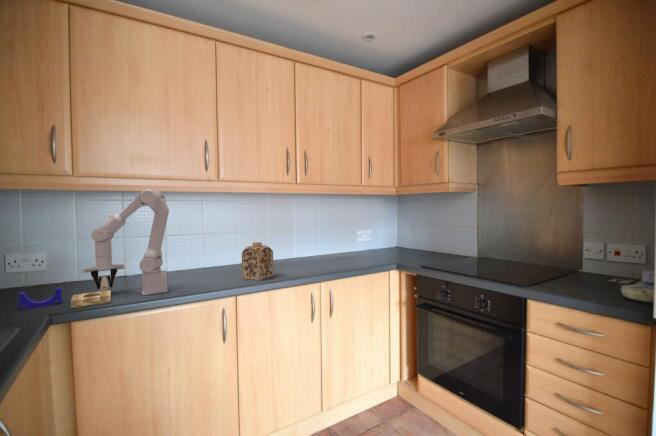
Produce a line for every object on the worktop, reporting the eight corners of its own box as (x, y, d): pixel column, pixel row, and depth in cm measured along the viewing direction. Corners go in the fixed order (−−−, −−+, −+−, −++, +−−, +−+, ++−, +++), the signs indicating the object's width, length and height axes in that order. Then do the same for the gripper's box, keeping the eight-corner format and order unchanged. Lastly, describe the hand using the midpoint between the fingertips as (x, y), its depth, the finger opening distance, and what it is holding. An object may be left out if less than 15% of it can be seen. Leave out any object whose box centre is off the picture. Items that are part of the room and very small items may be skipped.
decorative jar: (241, 278, 166) (240, 243, 165) (256, 274, 176) (255, 241, 175) (260, 281, 160) (259, 244, 160) (274, 276, 170) (273, 241, 170)
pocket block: (110, 297, 134) (110, 290, 134) (110, 303, 126) (110, 295, 126) (73, 302, 128) (73, 294, 128) (71, 308, 119) (70, 300, 119)
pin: (110, 292, 142) (110, 274, 142) (110, 294, 138) (110, 276, 138) (99, 294, 140) (98, 275, 139) (99, 296, 136) (98, 277, 136)
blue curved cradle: (62, 301, 130) (61, 286, 130) (61, 304, 127) (61, 288, 126) (21, 307, 123) (20, 291, 123) (19, 310, 119) (18, 294, 119)
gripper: (123, 253, 146) (124, 283, 146) (83, 256, 138) (84, 288, 138) (124, 255, 140) (125, 286, 140) (81, 258, 132) (83, 291, 132)
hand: (104, 287), depth 139 cm, fingers closed on pin, 4 cm apart
